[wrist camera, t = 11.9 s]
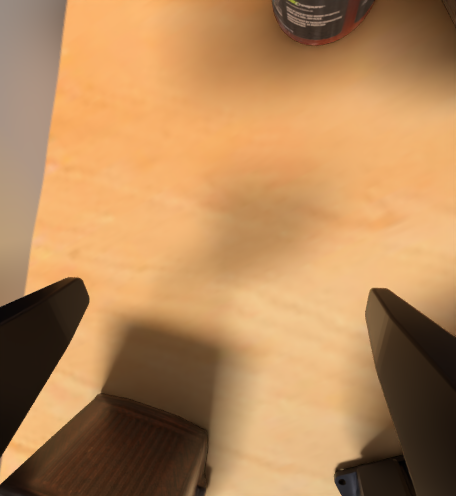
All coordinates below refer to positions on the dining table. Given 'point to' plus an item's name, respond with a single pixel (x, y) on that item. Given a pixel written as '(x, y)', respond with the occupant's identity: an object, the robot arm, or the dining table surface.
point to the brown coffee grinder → (116, 455)
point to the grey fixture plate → (451, 9)
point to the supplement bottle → (319, 18)
